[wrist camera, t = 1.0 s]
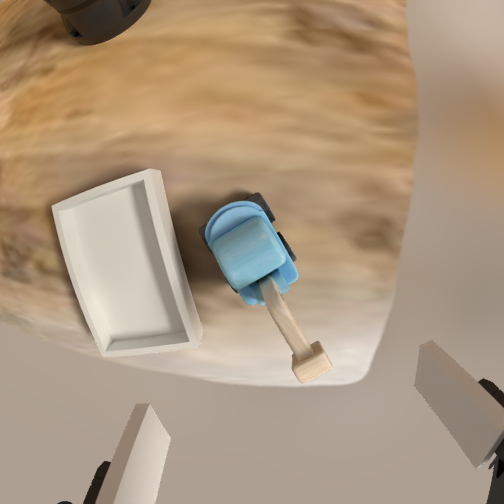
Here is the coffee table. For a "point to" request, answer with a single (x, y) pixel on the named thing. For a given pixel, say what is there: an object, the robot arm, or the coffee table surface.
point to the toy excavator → (262, 273)
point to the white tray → (128, 267)
